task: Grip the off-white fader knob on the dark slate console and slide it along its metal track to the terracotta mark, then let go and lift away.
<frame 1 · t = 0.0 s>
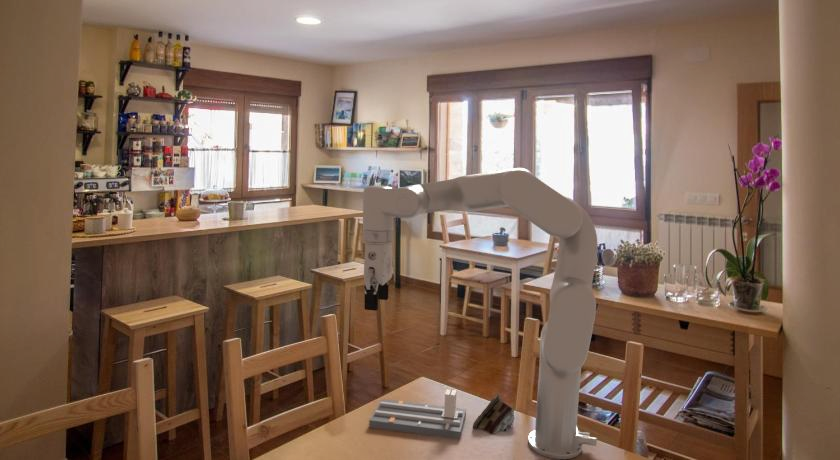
hand: (376, 304, 134), 31 cm above the table, tool pointing down, fingers open, 9 cm apart
chocolate cake: (495, 427, 138), on the table
console: (418, 421, 139), on the table
fader knob: (450, 404, 136), point 6 cm above the table, slide at 0.0 cm
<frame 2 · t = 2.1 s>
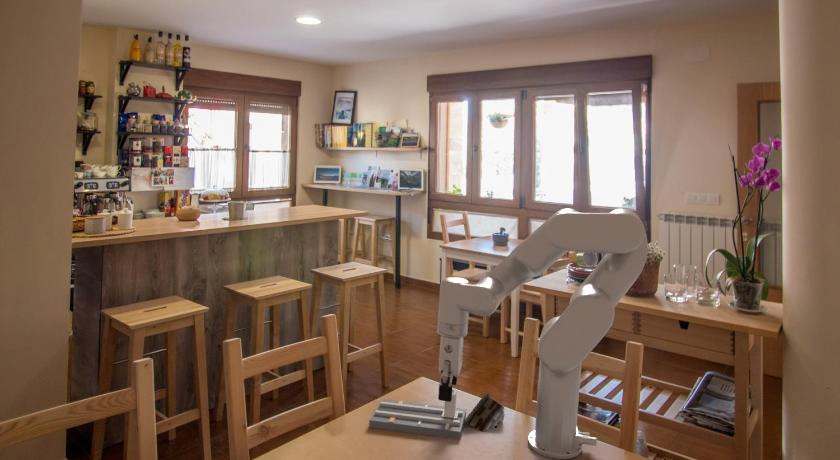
hand: (447, 391, 136), 9 cm above the table, tool pointing down, fingers open, 9 cm apart
chocolate cake: (486, 424, 139), on the table
everything else where it was.
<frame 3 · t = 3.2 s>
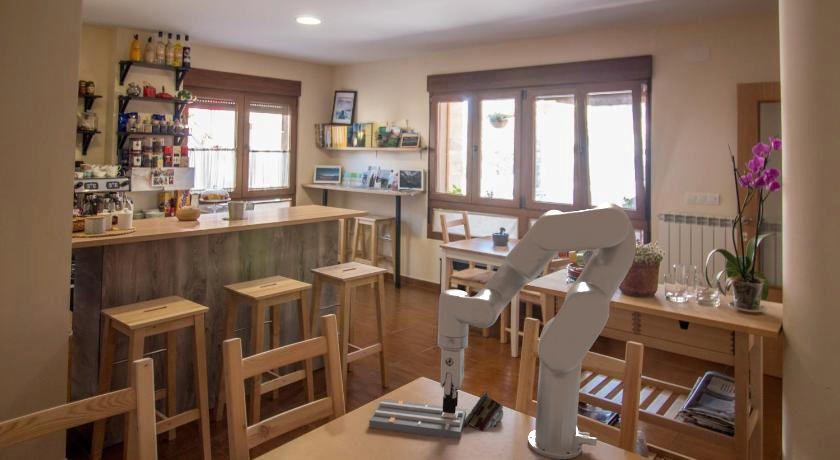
hand: (450, 408, 137), 5 cm above the table, tool pointing down, fingers closed on fader knob, 3 cm apart
chocolate cake: (485, 423, 140), on the table, touching console
fader knob: (450, 404, 136), point 6 cm above the table, slide at 0.0 cm, touching gripper
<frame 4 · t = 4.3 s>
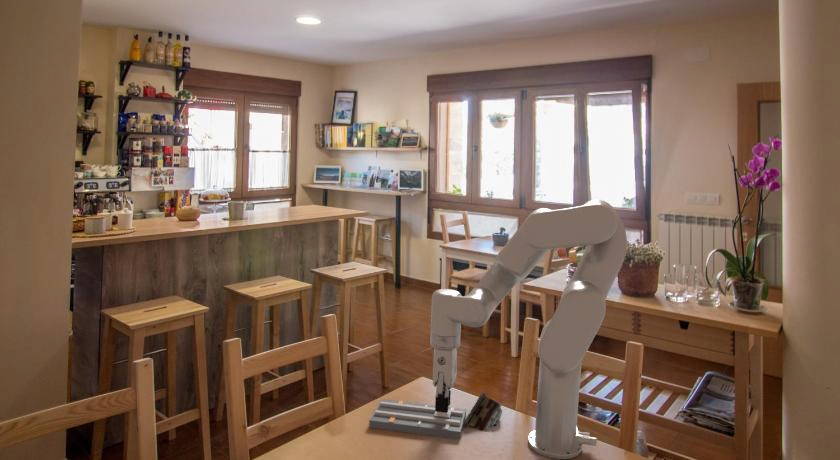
hand: (442, 407, 137), 5 cm above the table, tool pointing down, fingers closed on fader knob, 3 cm apart
chocolate cake: (484, 423, 140), on the table
fader knob: (442, 403, 137), point 6 cm above the table, slide at 1.9 cm, touching gripper
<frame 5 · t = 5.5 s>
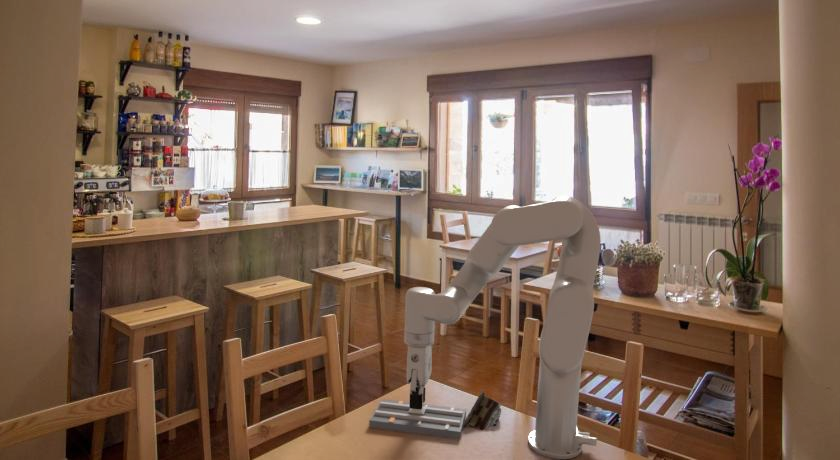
hand: (417, 404, 138), 5 cm above the table, tool pointing down, fingers closed on fader knob, 3 cm apart
fader knob: (417, 400, 138), point 6 cm above the table, slide at 8.5 cm, touching gripper
everything else where it was.
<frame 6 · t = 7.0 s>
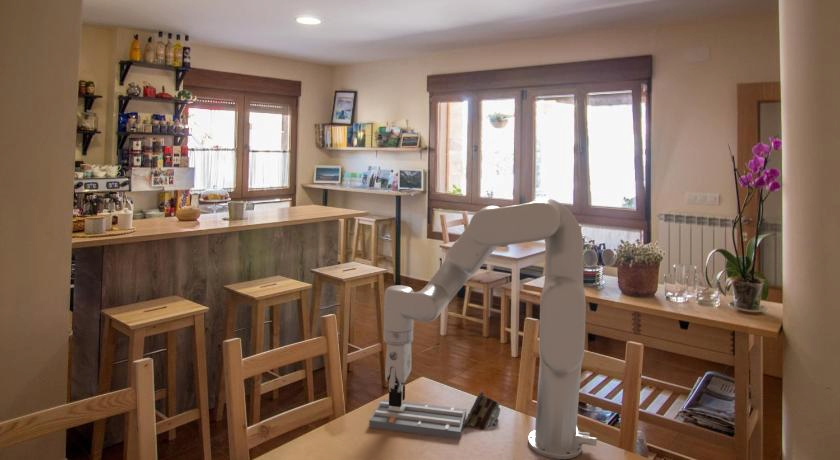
hand: (396, 401, 139), 5 cm above the table, tool pointing down, fingers closed on fader knob, 3 cm apart
fader knob: (396, 398, 139), point 6 cm above the table, slide at 13.9 cm, touching gripper
everything else where it was.
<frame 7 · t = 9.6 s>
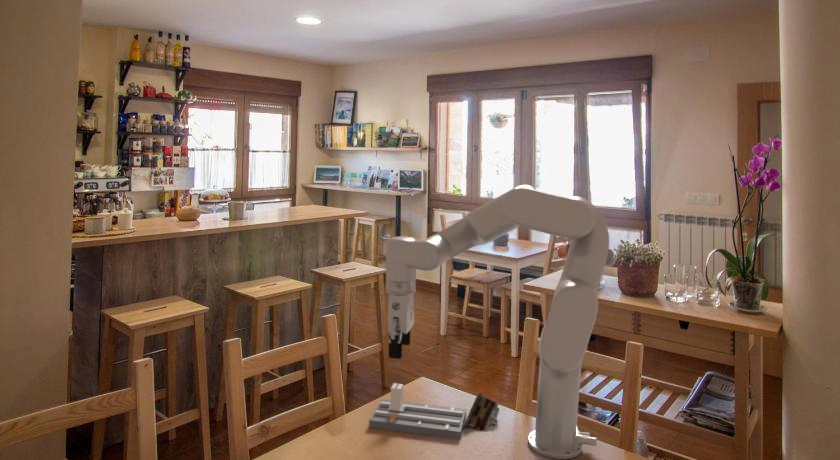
hand: (399, 350, 138), 18 cm above the table, tool pointing down, fingers open, 9 cm apart
chocolate cake: (482, 423, 140), on the table, touching console
fader knob: (396, 398, 139), point 6 cm above the table, slide at 14.0 cm
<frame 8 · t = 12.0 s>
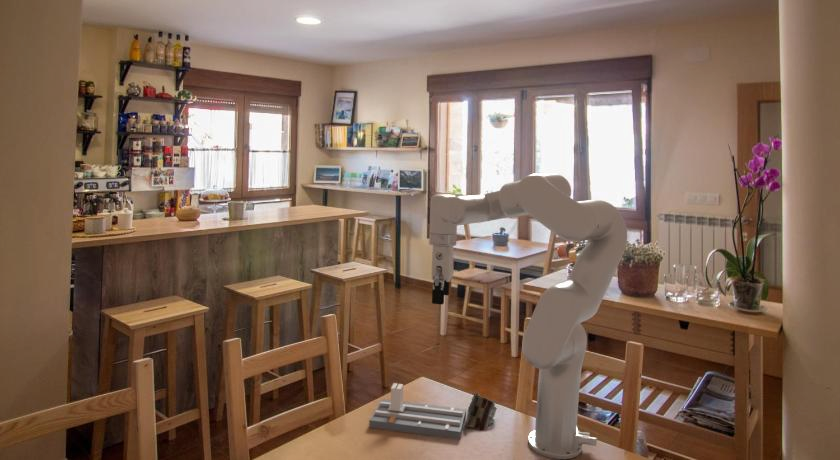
hand: (440, 299, 151), 28 cm above the table, tool pointing down, fingers open, 9 cm apart
chocolate cake: (480, 423, 140), on the table
everything else where it was.
at the end: fader knob slide at 14.0 cm; the gripper is holding nothing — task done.
